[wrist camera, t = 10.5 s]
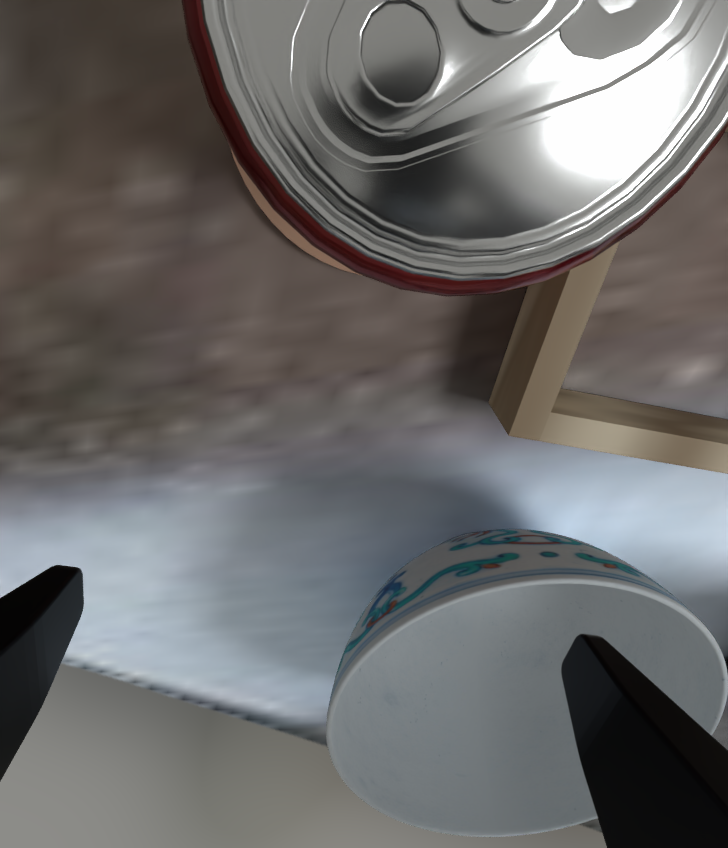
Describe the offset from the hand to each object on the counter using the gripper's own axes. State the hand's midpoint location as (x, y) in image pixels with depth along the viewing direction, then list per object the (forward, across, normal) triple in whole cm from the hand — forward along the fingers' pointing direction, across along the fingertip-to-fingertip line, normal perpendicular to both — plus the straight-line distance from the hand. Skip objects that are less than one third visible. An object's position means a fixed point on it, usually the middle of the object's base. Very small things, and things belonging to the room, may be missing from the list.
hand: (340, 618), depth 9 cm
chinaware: (+13, -9, +10) cm, 19 cm away
